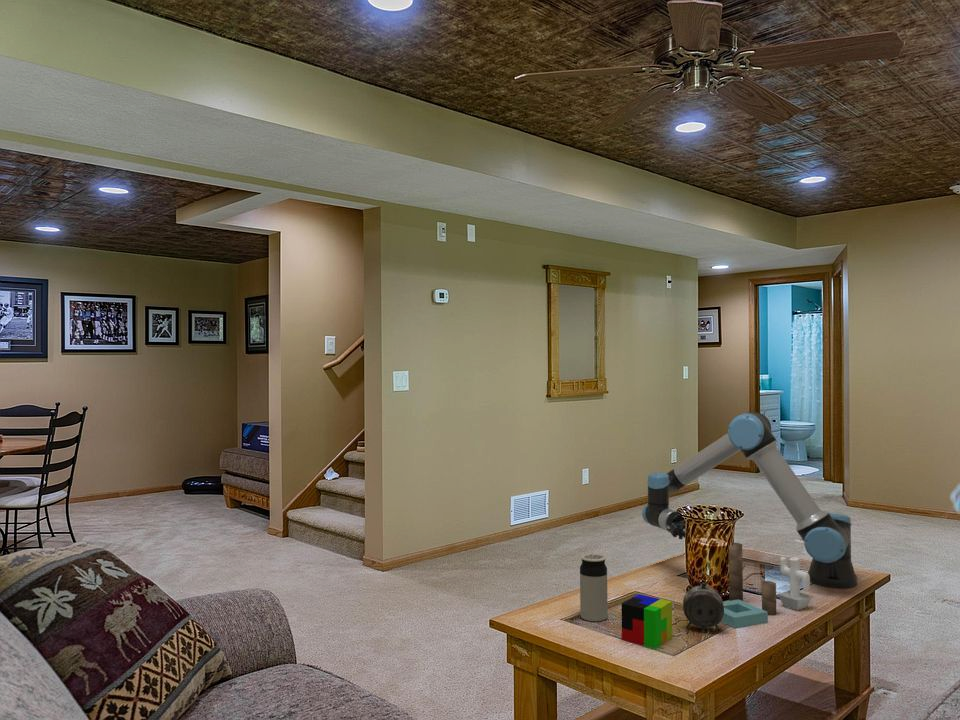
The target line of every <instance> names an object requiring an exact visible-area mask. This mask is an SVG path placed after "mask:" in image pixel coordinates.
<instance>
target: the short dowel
mask: <svg viewBox="0 0 960 720" xmlns="http://www.w3.org/2000/svg"><path fill="white" fill-rule="evenodd" d="M761 609H762V610H764V611H767V612H768V616H776V615H777V583H776V582H775V581H771V580H764V581H761Z"/></svg>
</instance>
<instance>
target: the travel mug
mask: <svg viewBox="0 0 960 720" xmlns="http://www.w3.org/2000/svg"><path fill="white" fill-rule="evenodd" d="M580 559H581V564H580V567H579V601H580V606H579V607H580V610H579V611H580V614H579V615H580V616H579V617H580V618H581V619H583V620H585V621H589V622H595V623H596V622H602V621H605V620H606V619H608V606H609V605H608V566H607V565H606V559H607V557H606V555H603V554H600V553H584V554H582V555H580Z"/></svg>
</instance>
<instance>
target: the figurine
mask: <svg viewBox="0 0 960 720" xmlns="http://www.w3.org/2000/svg"><path fill="white" fill-rule="evenodd" d="M787 560H789V566H788V561H787ZM779 568H780V569H779V570H780V574H781V575H782V576H785V577H789V590H787V591H783V592H779V593H776V596H778V598H779V599H780V601H781V603H782V605H783V606H784V607H785V608H788V607H789V608H788V609H791V608H792V609H791V610H794V609H795V611H800V610H803V608H804V609H806V608H807V607H808V605H809V604H810V602H811V601H812V598H813V597H814V596H813V595H810V594H806V593H803V592H801V589H800V588H801V587H800V586H801V583H800V582H802V590H803V591H806V592H807V591H810V589H811V581H810V576H809V574H808V571H803V570H801V562H800V558H799V557H796V556H793V557H790V558H788V559H787V557H786V556H781V557H780V558H779ZM799 609H800V610H799Z"/></svg>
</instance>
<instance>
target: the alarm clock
mask: <svg viewBox="0 0 960 720" xmlns="http://www.w3.org/2000/svg"><path fill="white" fill-rule="evenodd" d="M701 575H706V576H707V578H708V581H707V582H704V581H703V582H700V580H699V577H700V576H701ZM696 578H697V579H696V580H697V582H698V583H699V584H700V585H696V586H693V587H691V588H690V589H688V590H687V592H686V593H685V594H684V596H683V601H682V605H683V607H682V608H683V614H684V616H685V617H686V619H687V620H688V623H687V624H686V628H689V627H690V626H691V625H693V626H695V627H697V628H700V629H701V632H702V634H704V633H705V632H706V631H705V629H710V628H711V629H712V628H714V627H715V628H716V629H717V631H721V628H719V624H720V623H721V620H722V618H723V615H724V605H723V602H724V601H723V598H722V596H721V595H720V593H719V592H718V591H717V590H715V589H714V588H712V587H710V586H707V585H708V583H709V582H710V580H711V578H710V576H709V574H707V573H706V572H700V573H699V574H698V575H697V577H696Z"/></svg>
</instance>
